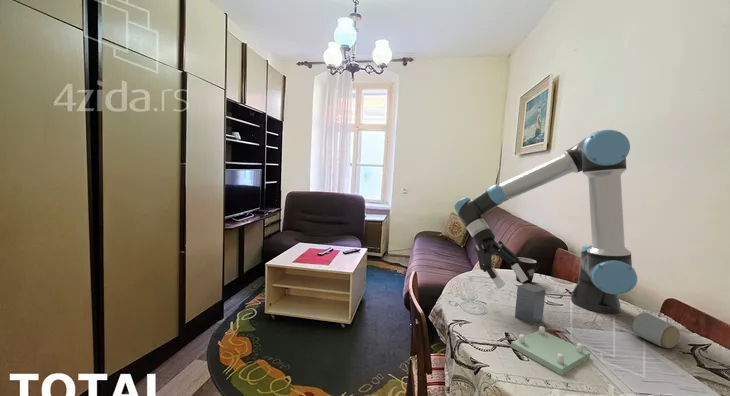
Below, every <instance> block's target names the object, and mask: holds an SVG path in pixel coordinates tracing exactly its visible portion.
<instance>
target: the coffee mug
mask: <svg viewBox="0 0 730 396" xmlns="http://www.w3.org/2000/svg"><path fill="white" fill-rule="evenodd" d="M518 258H519V259H520V262H519V263H518V265H519V266H520V268H521V269H522V271H523V272H524V274H525V275H526V277H527V278H528V280H526V281H524V282H523V283H522V284H527V283H529V284H532V283H533V279H534V275H535V273H536V272H537V271H538V270H539V269H540V263H539V262H537V260H534V259H532V258H528V257H518ZM536 266H537V268H536ZM515 280H516V281H517V282H518V283H521V281H520V280H519V278H518V277H517V275H516V274H515Z"/></svg>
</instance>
